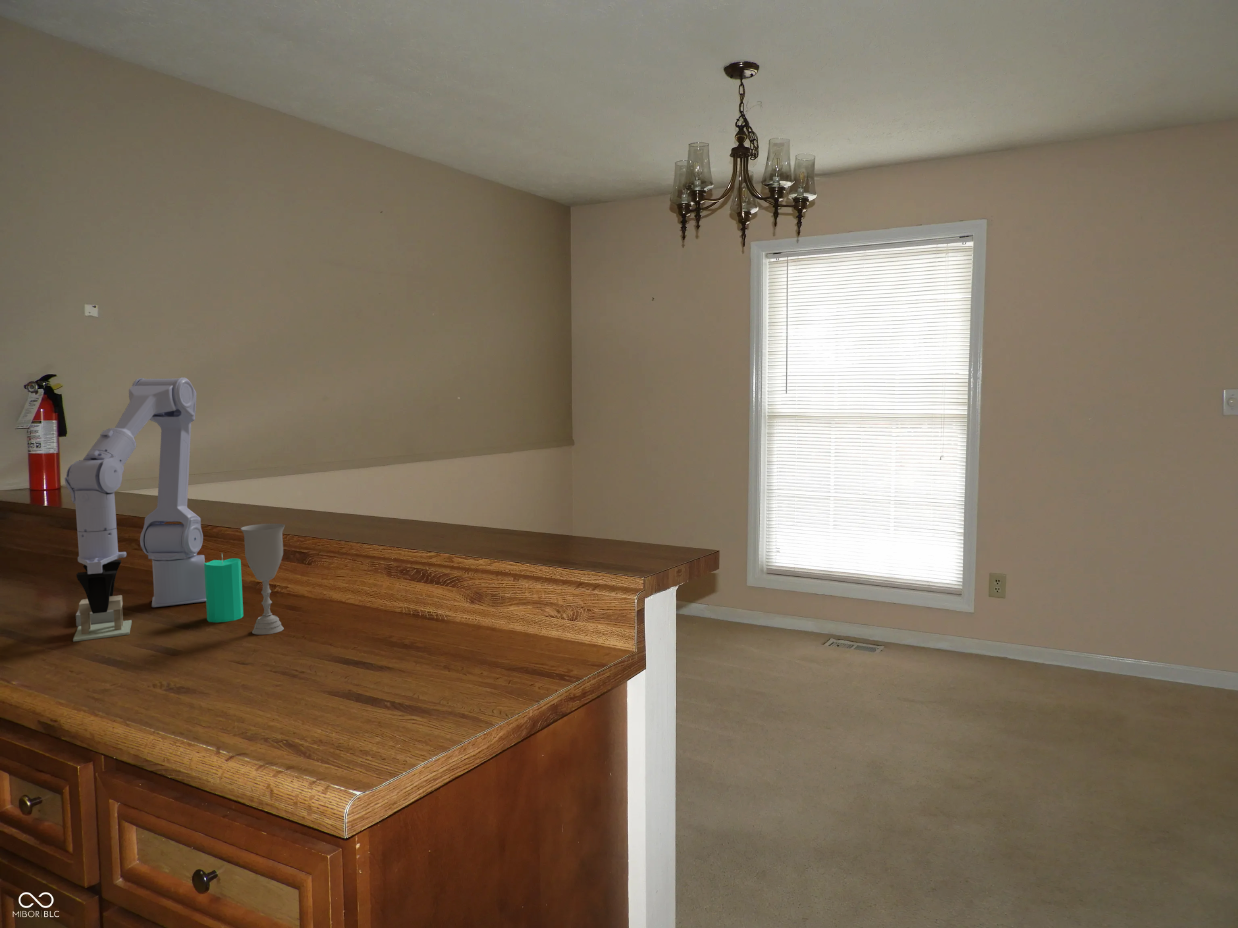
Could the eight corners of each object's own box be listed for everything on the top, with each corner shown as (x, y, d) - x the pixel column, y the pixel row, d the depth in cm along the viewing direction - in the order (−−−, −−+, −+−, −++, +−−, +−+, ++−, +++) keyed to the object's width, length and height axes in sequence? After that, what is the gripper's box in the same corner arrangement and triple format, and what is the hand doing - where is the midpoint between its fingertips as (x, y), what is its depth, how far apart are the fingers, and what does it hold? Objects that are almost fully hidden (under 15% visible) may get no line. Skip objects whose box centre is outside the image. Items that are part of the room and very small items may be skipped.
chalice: (272, 637, 138) (267, 530, 137) (236, 635, 139) (231, 529, 138) (298, 625, 145) (293, 523, 144) (263, 623, 147) (258, 523, 145)
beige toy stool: (80, 634, 140) (78, 604, 139) (83, 628, 143) (81, 599, 143) (122, 629, 142) (120, 599, 142) (123, 624, 146) (122, 595, 146)
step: (118, 612, 155) (117, 602, 155) (116, 621, 149) (115, 610, 149) (80, 617, 153) (79, 606, 152) (76, 626, 146) (75, 615, 146)
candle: (249, 613, 154) (246, 550, 153) (231, 622, 148) (228, 556, 147) (219, 613, 154) (216, 549, 153) (200, 622, 148) (196, 556, 147)
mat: (131, 622, 149) (131, 619, 149) (129, 634, 141) (129, 632, 141) (78, 628, 145) (78, 626, 145) (73, 641, 137) (73, 639, 137)
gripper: (120, 533, 137) (125, 613, 138) (127, 522, 150) (132, 595, 151) (70, 537, 134) (75, 619, 135) (81, 525, 146) (86, 600, 148)
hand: (102, 607), depth 143 cm, fingers open, 7 cm apart
